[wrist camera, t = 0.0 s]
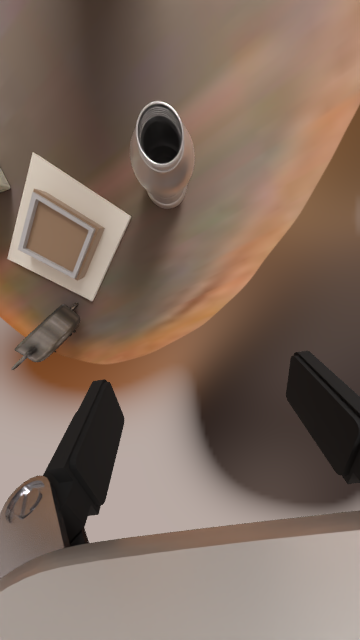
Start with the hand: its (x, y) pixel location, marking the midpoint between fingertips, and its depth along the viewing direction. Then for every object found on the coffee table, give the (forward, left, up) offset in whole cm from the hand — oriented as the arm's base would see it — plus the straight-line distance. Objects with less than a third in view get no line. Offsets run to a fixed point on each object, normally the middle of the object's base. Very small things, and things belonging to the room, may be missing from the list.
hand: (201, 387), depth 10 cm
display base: (+6, -20, -31) cm, 37 cm away
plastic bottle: (-10, -9, -31) cm, 34 cm away
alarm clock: (+22, -15, -31) cm, 41 cm away
